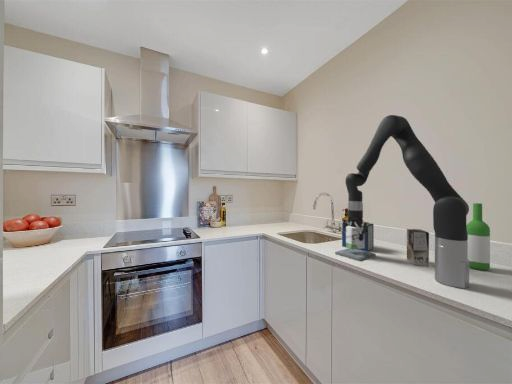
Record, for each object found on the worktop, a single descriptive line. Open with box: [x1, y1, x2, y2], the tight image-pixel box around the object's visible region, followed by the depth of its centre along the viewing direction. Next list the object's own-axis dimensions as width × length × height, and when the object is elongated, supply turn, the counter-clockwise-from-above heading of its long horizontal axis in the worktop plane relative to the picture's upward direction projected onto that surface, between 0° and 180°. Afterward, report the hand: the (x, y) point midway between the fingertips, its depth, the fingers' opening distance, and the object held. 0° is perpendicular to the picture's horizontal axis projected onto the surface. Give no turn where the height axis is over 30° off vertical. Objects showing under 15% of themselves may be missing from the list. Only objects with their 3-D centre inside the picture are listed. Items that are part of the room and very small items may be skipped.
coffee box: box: [406, 228, 430, 267], centre depth 101 cm, size 9×6×16 cm
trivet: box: [334, 248, 376, 262], centre depth 114 cm, size 14×16×1 cm
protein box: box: [341, 222, 375, 252], centre depth 129 cm, size 10×15×16 cm
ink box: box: [345, 226, 364, 249], centre depth 114 cm, size 8×5×12 cm, turn 103°
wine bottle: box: [466, 202, 491, 271], centre depth 95 cm, size 8×8×30 cm
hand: (355, 239), depth 114 cm, fingers closed on ink box, 6 cm apart
